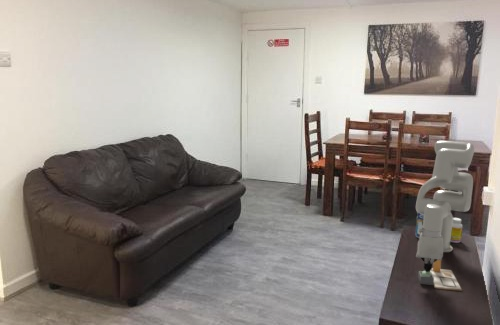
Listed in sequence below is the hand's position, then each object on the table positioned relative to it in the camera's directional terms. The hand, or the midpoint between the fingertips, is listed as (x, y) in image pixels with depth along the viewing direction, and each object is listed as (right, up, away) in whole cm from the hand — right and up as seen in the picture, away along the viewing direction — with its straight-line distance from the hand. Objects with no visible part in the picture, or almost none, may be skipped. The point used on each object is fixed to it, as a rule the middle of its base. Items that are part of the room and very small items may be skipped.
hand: (427, 270), depth 184 cm
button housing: (-1, -5, 0) cm, 5 cm away
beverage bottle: (+19, +6, +51) cm, 55 cm away
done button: (-1, -5, 0) cm, 5 cm away
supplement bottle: (+35, +4, +46) cm, 58 cm away
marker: (+8, -2, +9) cm, 13 cm away
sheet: (+8, -5, +3) cm, 10 cm away
